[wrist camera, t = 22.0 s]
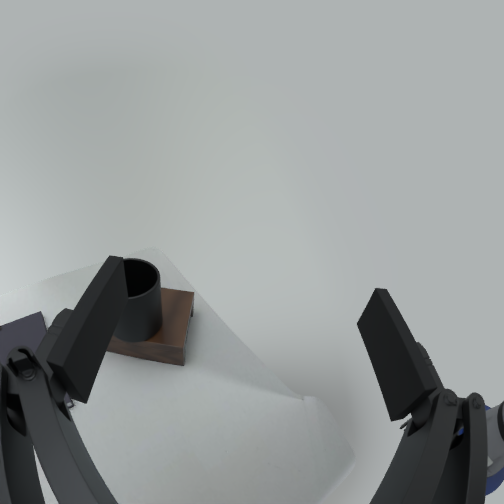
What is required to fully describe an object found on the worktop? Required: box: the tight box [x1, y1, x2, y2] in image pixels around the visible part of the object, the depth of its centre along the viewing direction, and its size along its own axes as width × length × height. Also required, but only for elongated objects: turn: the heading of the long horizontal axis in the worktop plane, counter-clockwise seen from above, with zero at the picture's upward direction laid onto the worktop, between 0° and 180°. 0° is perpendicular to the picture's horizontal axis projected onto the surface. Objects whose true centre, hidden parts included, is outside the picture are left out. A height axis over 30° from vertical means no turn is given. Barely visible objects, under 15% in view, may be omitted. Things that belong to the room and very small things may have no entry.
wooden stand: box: [106, 288, 194, 366], centre depth 43 cm, size 15×13×7 cm
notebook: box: [0, 311, 74, 408], centre depth 30 cm, size 13×2×21 cm
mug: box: [113, 258, 163, 343], centre depth 39 cm, size 9×12×9 cm
